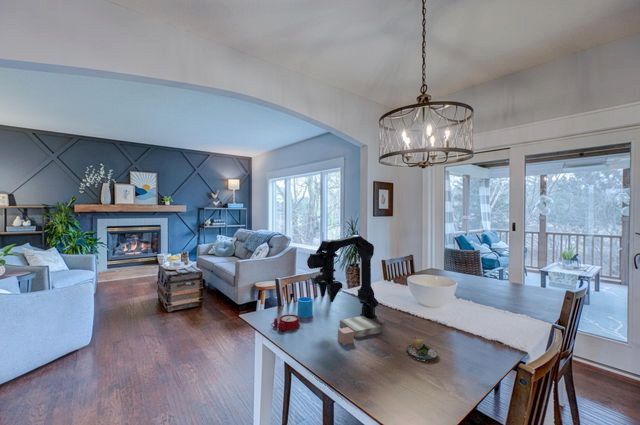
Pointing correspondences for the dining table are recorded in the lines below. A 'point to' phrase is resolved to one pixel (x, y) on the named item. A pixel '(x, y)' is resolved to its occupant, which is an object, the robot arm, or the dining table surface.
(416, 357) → the plate of food
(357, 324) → the plinth
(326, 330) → the dining table surface
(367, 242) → the robot arm
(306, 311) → the mug
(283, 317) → the alarm clock
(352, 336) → the cube
